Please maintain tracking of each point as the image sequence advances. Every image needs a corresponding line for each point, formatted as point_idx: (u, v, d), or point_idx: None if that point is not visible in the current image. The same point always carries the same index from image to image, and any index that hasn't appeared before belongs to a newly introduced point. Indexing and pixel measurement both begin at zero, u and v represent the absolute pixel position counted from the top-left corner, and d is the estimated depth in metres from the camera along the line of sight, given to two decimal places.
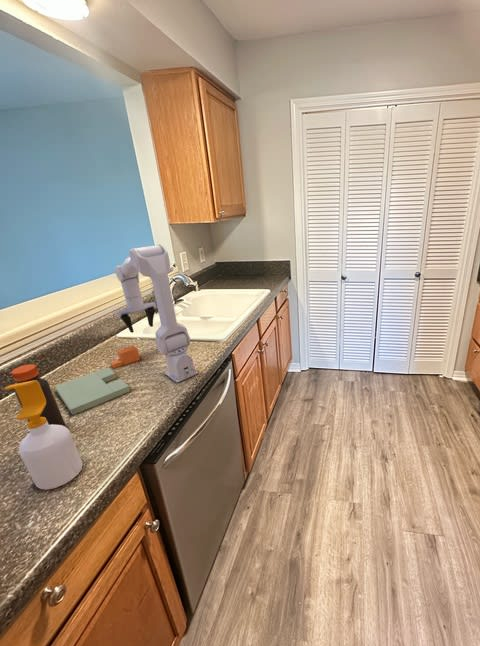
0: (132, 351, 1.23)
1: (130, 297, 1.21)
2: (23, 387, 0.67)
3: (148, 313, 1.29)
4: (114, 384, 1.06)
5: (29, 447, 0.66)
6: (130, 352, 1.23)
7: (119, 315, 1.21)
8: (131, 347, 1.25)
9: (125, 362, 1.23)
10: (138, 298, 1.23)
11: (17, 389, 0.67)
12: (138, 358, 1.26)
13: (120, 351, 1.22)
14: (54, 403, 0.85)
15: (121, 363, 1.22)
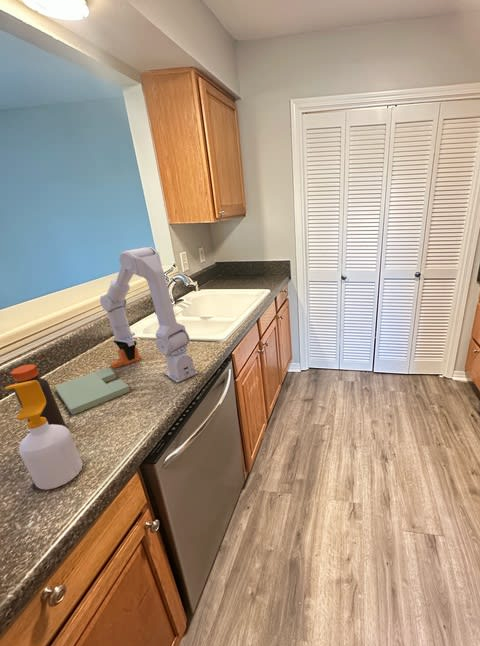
0: None
1: (119, 326, 1.17)
2: (23, 387, 0.67)
3: None
4: (114, 384, 1.06)
5: (29, 447, 0.66)
6: None
7: None
8: None
9: (125, 362, 1.23)
10: (113, 329, 1.18)
11: (17, 389, 0.67)
12: (138, 358, 1.26)
13: (120, 351, 1.22)
14: (54, 403, 0.85)
15: (121, 363, 1.22)
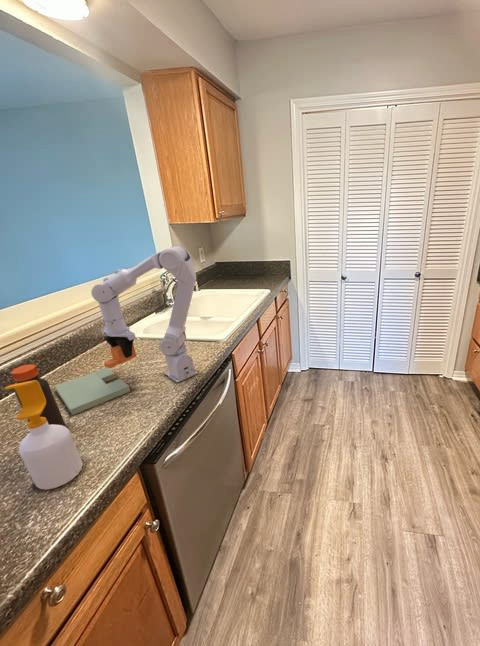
0: None
1: (117, 319, 1.04)
2: (23, 387, 0.67)
3: None
4: (114, 384, 1.06)
5: (29, 447, 0.66)
6: None
7: (102, 332, 1.10)
8: None
9: (122, 360, 1.08)
10: (108, 323, 1.03)
11: (17, 389, 0.67)
12: (135, 355, 1.12)
13: (115, 348, 1.08)
14: (54, 403, 0.85)
15: (118, 362, 1.08)
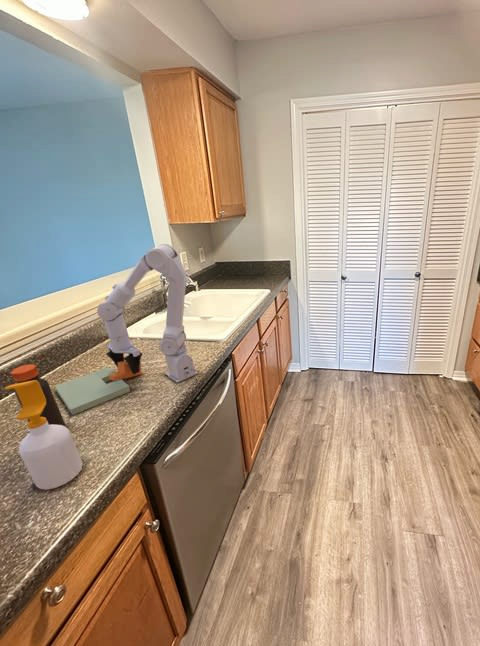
0: None
1: (122, 336, 1.06)
2: (23, 387, 0.67)
3: None
4: (114, 384, 1.06)
5: (29, 447, 0.66)
6: None
7: (107, 348, 1.12)
8: None
9: (126, 375, 1.11)
10: (113, 340, 1.06)
11: (17, 389, 0.67)
12: (139, 372, 1.15)
13: (122, 363, 1.11)
14: (54, 403, 0.85)
15: (122, 376, 1.10)
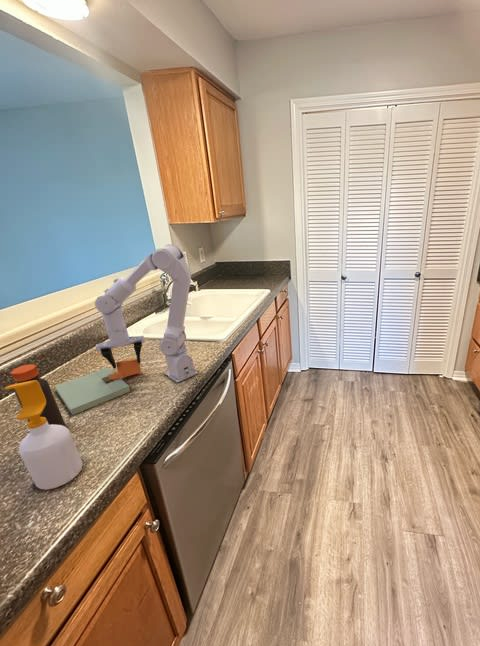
0: (133, 362, 1.13)
1: (120, 329, 1.05)
2: (23, 387, 0.67)
3: None
4: (114, 384, 1.06)
5: (29, 447, 0.66)
6: (132, 362, 1.13)
7: (98, 349, 1.06)
8: (131, 359, 1.15)
9: (126, 373, 1.11)
10: (119, 332, 1.05)
11: (17, 389, 0.67)
12: (139, 371, 1.15)
13: (121, 362, 1.11)
14: (54, 403, 0.85)
15: (121, 374, 1.10)
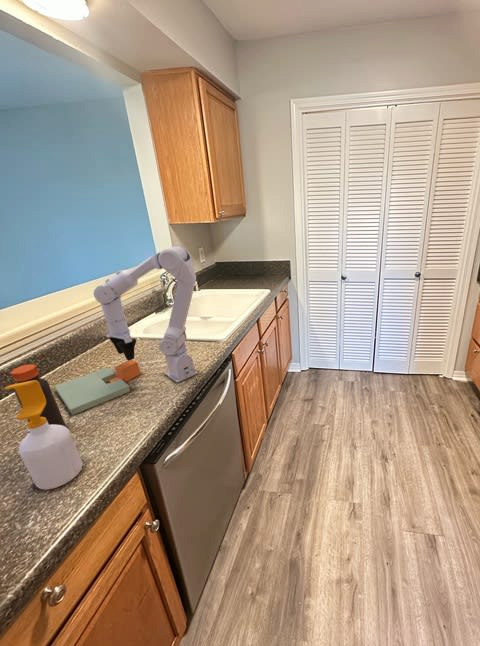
0: (132, 366, 1.12)
1: (119, 320, 1.05)
2: (23, 387, 0.67)
3: None
4: (114, 384, 1.06)
5: (29, 447, 0.66)
6: (131, 366, 1.12)
7: None
8: (130, 361, 1.14)
9: (126, 378, 1.11)
10: None
11: (17, 389, 0.67)
12: (139, 373, 1.15)
13: (119, 367, 1.10)
14: (54, 403, 0.85)
15: None
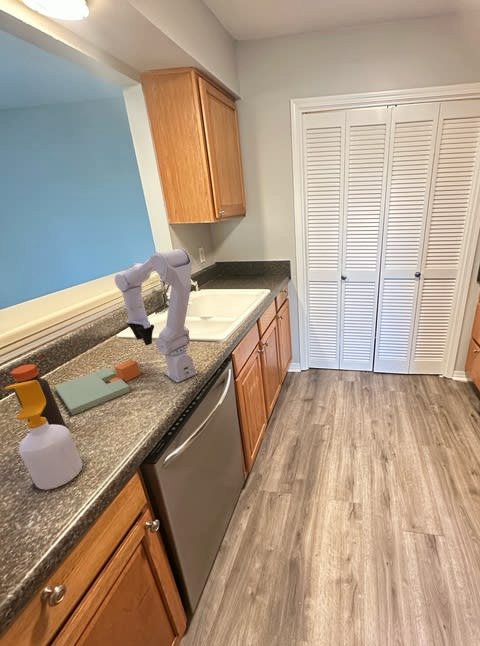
0: (132, 366, 1.12)
1: (134, 307, 1.11)
2: (23, 387, 0.67)
3: (138, 324, 1.20)
4: (114, 384, 1.06)
5: (29, 447, 0.66)
6: (131, 366, 1.12)
7: None
8: (130, 361, 1.14)
9: (126, 378, 1.11)
10: None
11: (17, 389, 0.67)
12: (139, 373, 1.15)
13: (119, 367, 1.10)
14: (54, 403, 0.85)
15: None
